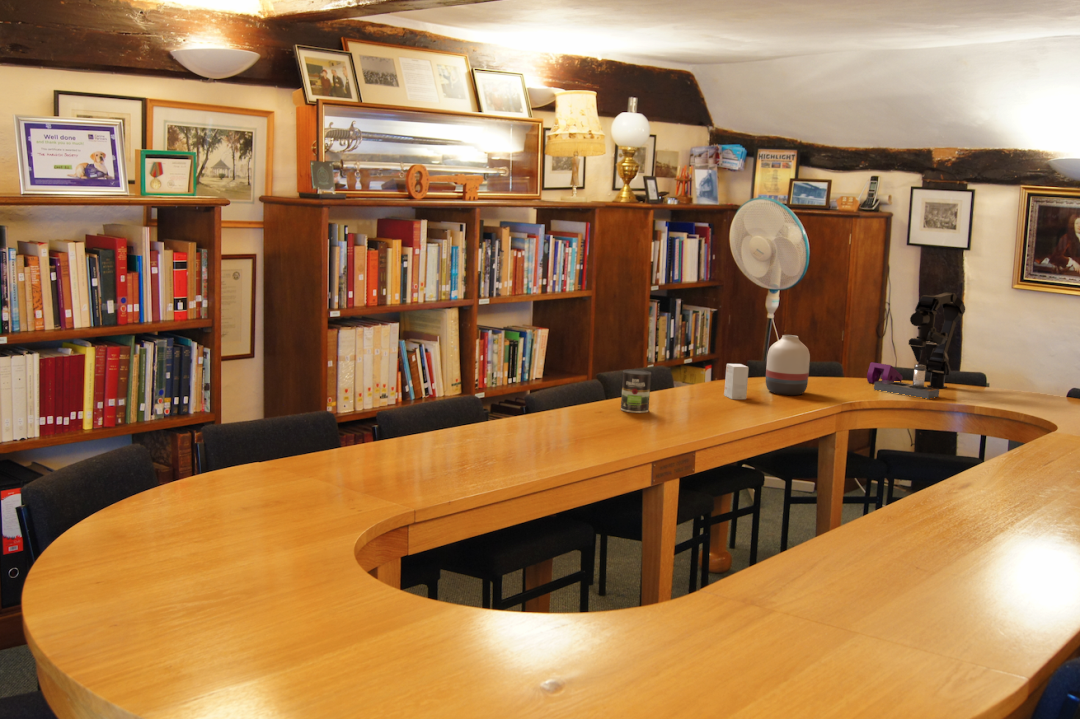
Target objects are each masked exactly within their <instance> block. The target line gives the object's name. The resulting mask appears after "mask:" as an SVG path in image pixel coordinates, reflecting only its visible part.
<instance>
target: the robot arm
mask: <svg viewBox="0 0 1080 719" xmlns="http://www.w3.org/2000/svg"><path fill="white" fill-rule="evenodd" d="M940 307H941V308H942V315H943V318H944V320H943V321H944V322H943V325H942V328H941V331H940V332H938V331H937V327H935V322H936V315H937V314H938V313H937V310H938V309H940ZM914 311H915V312H914V313H912V314H911V315H910V317H909V322H910V323H911V325H913V326H915V327H917V330H918V335H916V337H913V338H912V337H911V338H910V339H908V345H909V347H910V349H911V350H912V352H913V355H914V357H915V361H916V362H917V363H920V362H921V358H922V353H923V350H924V352H925V360H926V363H925V365H926V373H927V374H929V373H930V383H929V384H927V385H926V387H930V388H936V389H939V390H941V389H946V388H948V386H947V385H945V379H946V376H950V375H951V371H952V370H951V365H950V363H949V362H950V361H949V359H950V358H949V356H948V351H949V347H950V344H951V341H952V337H953V334H954V331H955V328H956V325H957V323H958V322H959V321H960V320H962V319H963V316H964V314H965V312H966V306H965V304H964V301H963V300H961V299H960V298H959V297H958V296H957V294H956V293H954V292H947V291H946V292H943V293H940V294H936V295H927V294H925V295H921V297H920V298H919V300H918V302H917V303H916V307H915V308H914Z"/></svg>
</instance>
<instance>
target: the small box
mask: <svg viewBox="0 0 1080 719" xmlns="http://www.w3.org/2000/svg"><path fill="white" fill-rule="evenodd" d="M725 366H726V368H725V378H724V379H725V380H724V381H725V382H724V392H723V396H725V397H727V398H729V399H730V400H747V396H748V395H747V393H748V392H747V391H748V380H749V379H748V378H749V366H746V365H744V364H742V363H726V365H725Z"/></svg>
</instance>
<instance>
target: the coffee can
mask: <svg viewBox="0 0 1080 719" xmlns="http://www.w3.org/2000/svg"><path fill="white" fill-rule="evenodd" d="M651 379H652V372H651V371H647V370H643V369H624V370H622V381H621V382H622V383H621V386H622V387H621V398H620V399H621V400H620V411H622V412H625V413H632V414H645V413H648V412H650V410H649V408H650V392H651V383H652V382H651V381H652V380H651Z"/></svg>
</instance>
